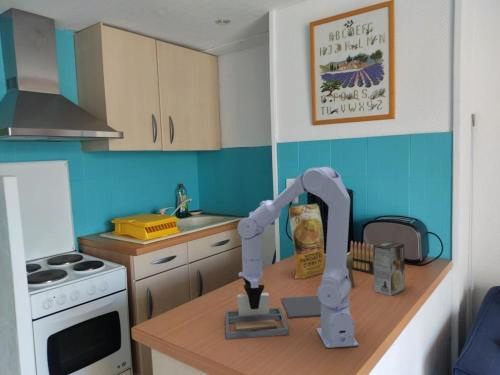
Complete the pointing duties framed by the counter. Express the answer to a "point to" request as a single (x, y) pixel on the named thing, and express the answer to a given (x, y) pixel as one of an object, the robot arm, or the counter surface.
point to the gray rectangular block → (247, 311)
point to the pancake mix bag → (307, 240)
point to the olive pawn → (350, 269)
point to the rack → (274, 315)
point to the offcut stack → (255, 325)
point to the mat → (302, 306)
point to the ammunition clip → (362, 258)
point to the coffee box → (389, 268)
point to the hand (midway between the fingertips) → (253, 303)
